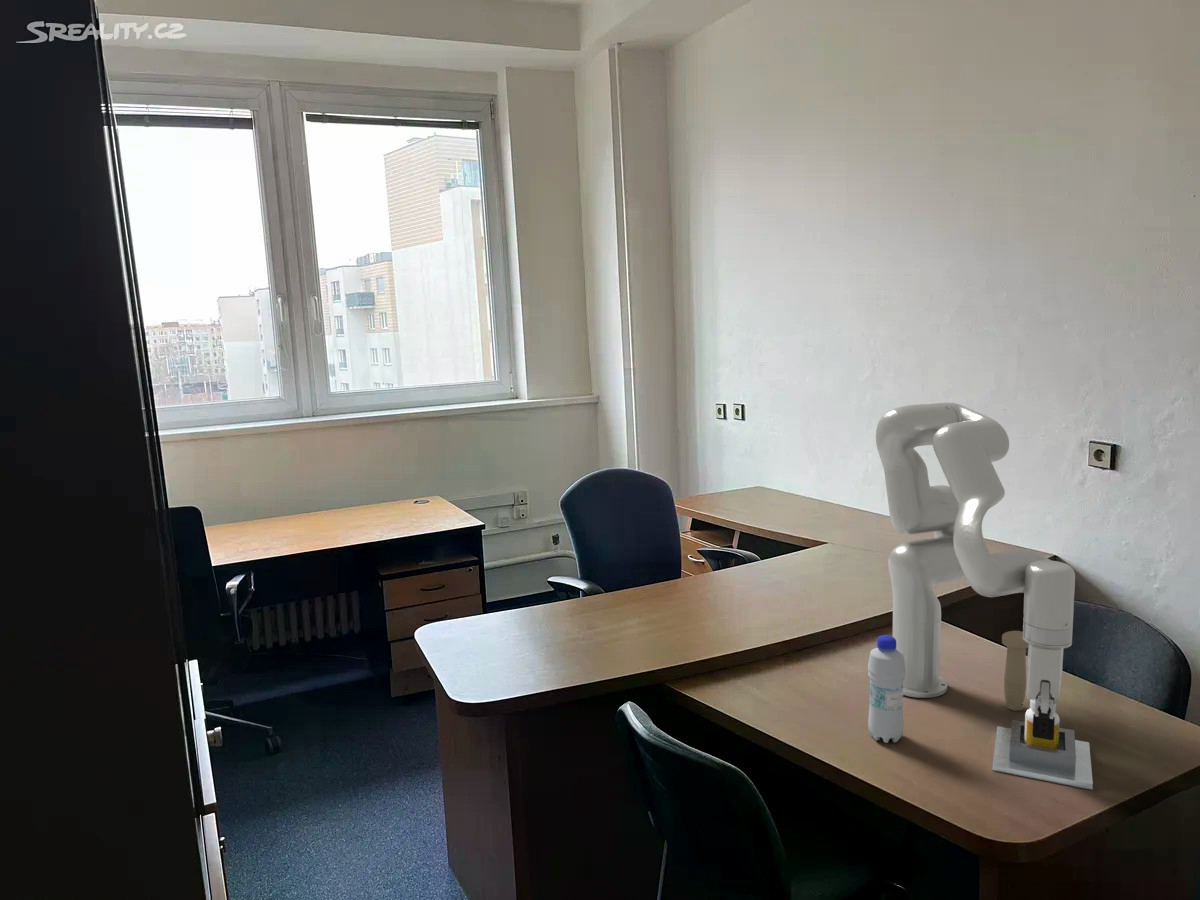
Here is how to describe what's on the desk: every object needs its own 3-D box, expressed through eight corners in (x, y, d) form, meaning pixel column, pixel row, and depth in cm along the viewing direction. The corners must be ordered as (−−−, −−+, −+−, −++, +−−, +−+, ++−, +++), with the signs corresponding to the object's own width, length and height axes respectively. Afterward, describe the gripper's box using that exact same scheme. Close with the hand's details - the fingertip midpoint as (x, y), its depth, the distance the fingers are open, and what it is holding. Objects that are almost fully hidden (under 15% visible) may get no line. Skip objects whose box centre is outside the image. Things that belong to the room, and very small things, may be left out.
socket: (992, 770, 145) (993, 748, 145) (997, 731, 158) (997, 711, 158) (1092, 789, 138) (1093, 767, 138) (1088, 747, 151) (1090, 726, 151)
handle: (1033, 706, 167) (1037, 635, 165) (1018, 717, 163) (1021, 644, 161) (1009, 698, 171) (1012, 628, 169) (994, 709, 167) (996, 637, 165)
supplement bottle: (1062, 761, 145) (1065, 708, 144) (1028, 759, 146) (1031, 707, 145) (1052, 745, 150) (1054, 694, 149) (1020, 743, 151) (1022, 693, 150)
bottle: (886, 749, 153) (887, 645, 150) (859, 734, 159) (860, 634, 156) (912, 740, 156) (914, 638, 153) (885, 725, 162) (886, 626, 159)
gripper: (1024, 613, 154) (1020, 701, 156) (1021, 647, 139) (1017, 743, 141) (1071, 618, 150) (1066, 708, 153) (1073, 654, 135) (1068, 753, 138)
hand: (1043, 725), depth 147 cm, fingers open, 9 cm apart
